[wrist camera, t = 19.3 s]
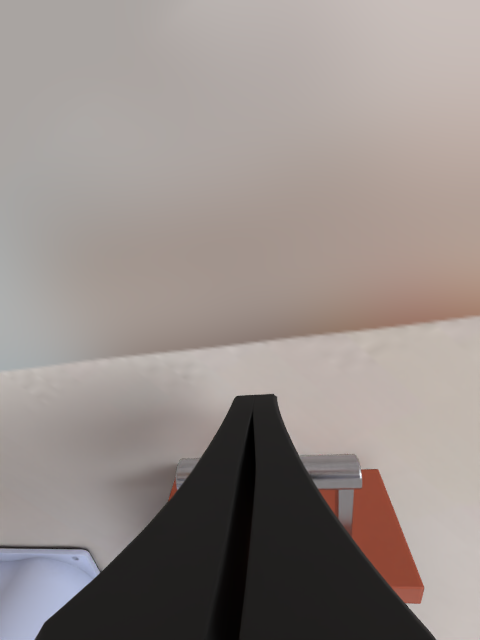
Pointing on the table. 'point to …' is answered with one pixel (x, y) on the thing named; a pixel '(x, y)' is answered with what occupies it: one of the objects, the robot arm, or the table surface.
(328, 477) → the cabinet drawer
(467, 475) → the table surface
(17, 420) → the table surface
